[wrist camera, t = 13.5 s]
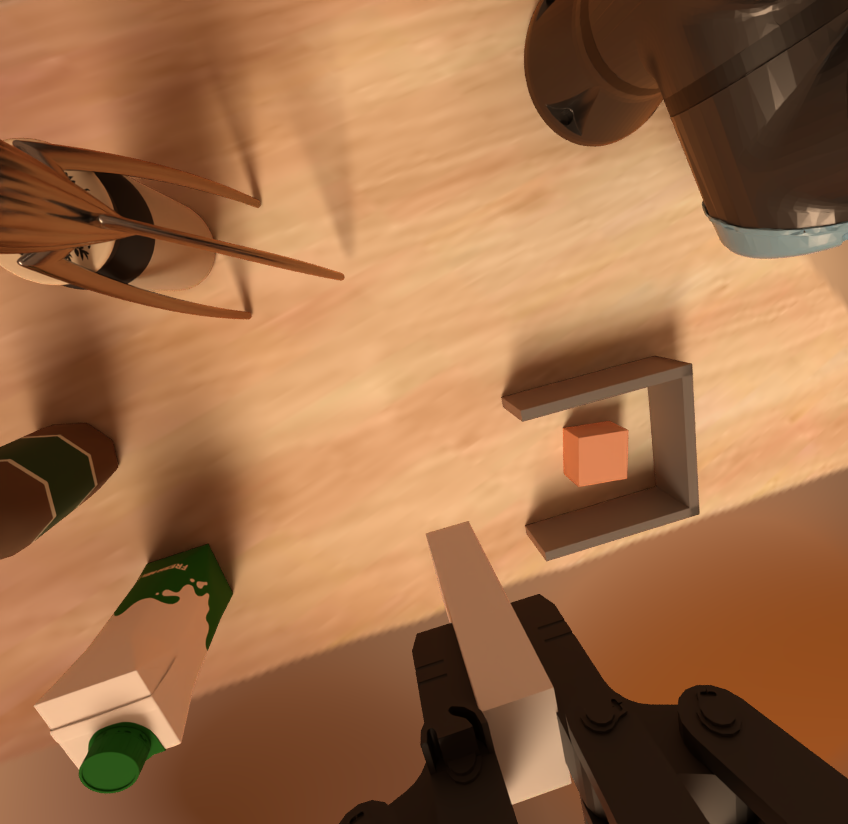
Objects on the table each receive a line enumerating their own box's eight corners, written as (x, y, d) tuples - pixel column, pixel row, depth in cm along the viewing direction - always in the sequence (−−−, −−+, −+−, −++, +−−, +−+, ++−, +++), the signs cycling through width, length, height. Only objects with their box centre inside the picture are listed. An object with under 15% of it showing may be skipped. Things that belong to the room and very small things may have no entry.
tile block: (608, 420, 54) (628, 430, 50) (607, 465, 56) (627, 478, 52) (562, 427, 53) (578, 438, 49) (562, 473, 55) (579, 486, 51)
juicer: (346, 279, 41) (-24, 183, 13) (247, 320, 44) (-247, 319, 15) (307, 175, 40) (-202, -199, 11) (208, 223, 43) (-411, 22, 14)
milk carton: (170, 622, 51) (64, 816, 32) (134, 558, 49) (-5, 729, 30) (244, 596, 52) (182, 773, 33) (213, 532, 49) (126, 684, 30)
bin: (654, 355, 52) (692, 363, 47) (664, 492, 58) (699, 514, 52) (501, 397, 51) (520, 410, 45) (526, 533, 56) (546, 561, 50)
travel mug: (162, 180, 40) (13, 95, 23) (234, 247, 42) (148, 216, 25) (105, 245, 41) (-81, 210, 23) (179, 308, 43) (59, 318, 26)
